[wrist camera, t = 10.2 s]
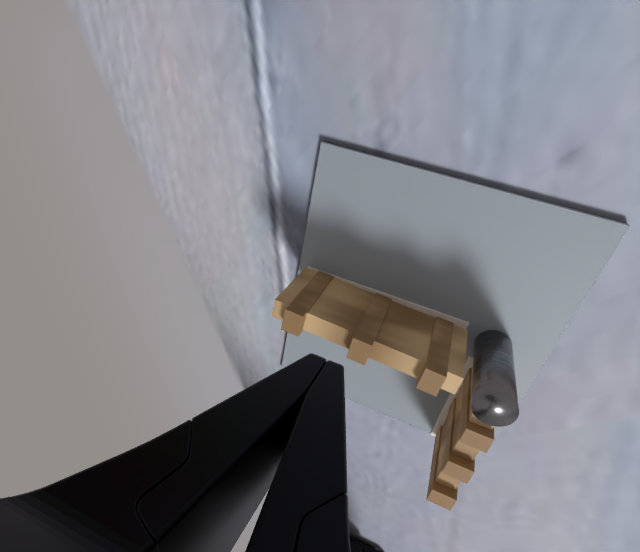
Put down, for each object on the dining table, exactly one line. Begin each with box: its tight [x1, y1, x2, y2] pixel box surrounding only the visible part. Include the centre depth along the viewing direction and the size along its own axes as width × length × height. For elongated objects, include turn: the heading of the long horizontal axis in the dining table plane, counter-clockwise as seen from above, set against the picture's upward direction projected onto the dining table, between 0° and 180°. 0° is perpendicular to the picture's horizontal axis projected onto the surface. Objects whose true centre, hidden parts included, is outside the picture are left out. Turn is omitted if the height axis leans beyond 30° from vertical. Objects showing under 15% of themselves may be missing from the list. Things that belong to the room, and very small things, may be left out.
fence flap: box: [272, 267, 468, 396], centre depth 19 cm, size 9×1×4 cm, turn 78°
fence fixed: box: [427, 366, 494, 510], centre depth 20 cm, size 6×1×4 cm, turn 170°
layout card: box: [281, 141, 630, 456], centre depth 21 cm, size 15×14×1 cm
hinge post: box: [471, 330, 519, 427], centre depth 18 cm, size 2×2×5 cm
